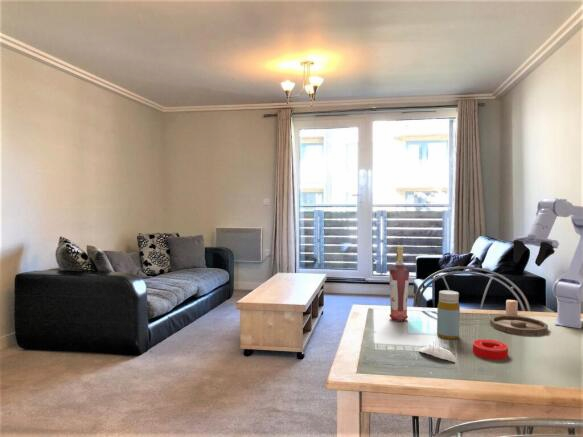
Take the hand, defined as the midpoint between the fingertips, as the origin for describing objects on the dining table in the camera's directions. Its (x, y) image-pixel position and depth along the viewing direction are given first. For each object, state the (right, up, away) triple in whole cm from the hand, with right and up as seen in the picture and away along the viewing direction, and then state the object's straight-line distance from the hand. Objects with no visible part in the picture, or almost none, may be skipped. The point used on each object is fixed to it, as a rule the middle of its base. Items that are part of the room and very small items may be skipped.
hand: (526, 263), depth 148 cm
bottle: (-26, -25, +1) cm, 36 cm away
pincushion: (-36, -26, -18) cm, 48 cm away
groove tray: (+3, -24, +12) cm, 27 cm away
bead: (+8, -23, +26) cm, 36 cm away
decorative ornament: (-19, -26, -15) cm, 36 cm away
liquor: (-38, -24, +20) cm, 49 cm away
